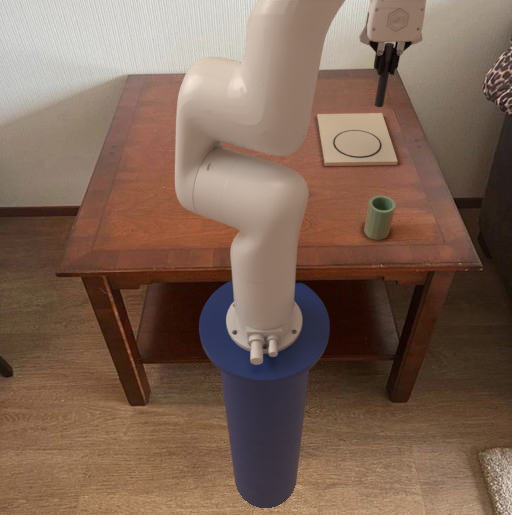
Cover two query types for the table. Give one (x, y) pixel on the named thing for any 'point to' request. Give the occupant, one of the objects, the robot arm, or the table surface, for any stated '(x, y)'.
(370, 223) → the pen cup
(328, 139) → the drawing board
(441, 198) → the table surface
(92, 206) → the table surface
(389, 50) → the marker
